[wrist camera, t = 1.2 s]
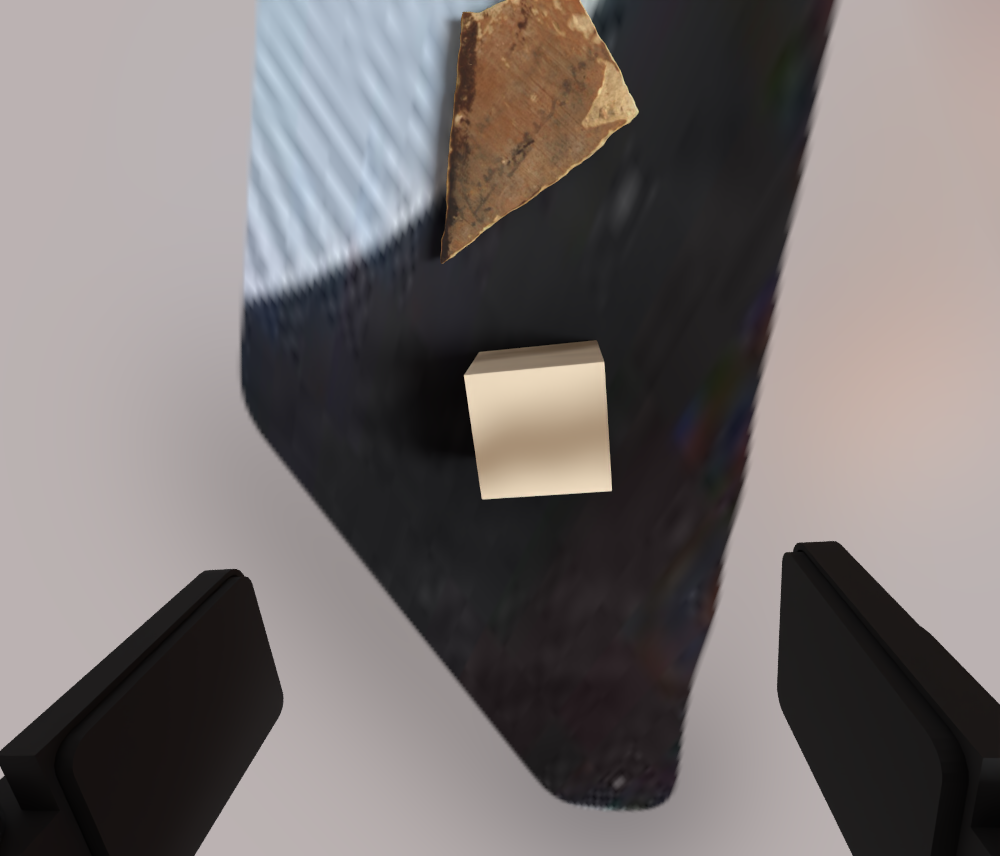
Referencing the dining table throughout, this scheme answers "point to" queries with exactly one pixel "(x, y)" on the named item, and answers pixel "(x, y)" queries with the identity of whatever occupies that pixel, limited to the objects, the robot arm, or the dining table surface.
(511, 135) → the shard
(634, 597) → the dining table surface
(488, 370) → the beige metal block
